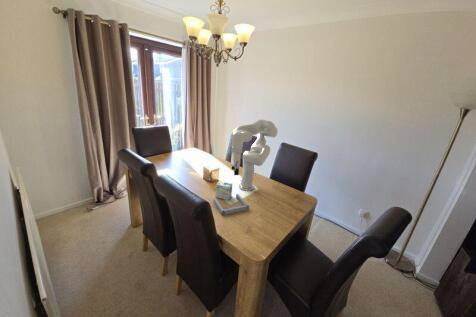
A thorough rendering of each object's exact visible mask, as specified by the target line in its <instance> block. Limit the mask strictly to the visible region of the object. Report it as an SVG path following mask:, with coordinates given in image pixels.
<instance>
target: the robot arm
mask: <svg viewBox="0 0 476 317" xmlns="http://www.w3.org/2000/svg"><path fill="white" fill-rule="evenodd" d="M255 135H257V137H256V140H255V141H254V143H252V145H251V147H250V150H245V151H244V152H243V149H244V148H243V147H244V146H243V145H244V144H243V143H248V142H250V141H252V138H253V136H255ZM277 135H278V128H277V126H276V125H275V123H273V122H272V121H271V120H266V119H258V120H257V121H254V122H253V123H252V124H251V123H250V124H245V125H240V126H237V127H236V128H235V129H234V130H233V131H232V137H231V138H232V140H231V152H230V153H231V158H230V163H231V164H230V165H231V170H233V171H234V172H233V176H239V174H240V166H241V159H242V174H241V179H240V184H239V185H238V187H239V189H240V190H242V191H245V192H246V191H247V192H250V191H253V190H254V189H255V186H254V184H253V183H254V176H255V166H257V167H261V166H263V164H264V163H265V162H266V160H267V159H268V157H269V155H270V154H271V147H270V146H269V145H268V144H267V140H266V138H265V137H268V138H276V137H277ZM242 153H243V154H242ZM241 154H242V155H241ZM241 156H242V158H241Z"/></svg>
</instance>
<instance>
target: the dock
mask: <svg viewBox="0 0 476 317" xmlns="http://www.w3.org/2000/svg"><path fill="white" fill-rule="evenodd" d="M235 199H236V200H237V201H238V202H239V203H240V204H241V205H240V206H233V207H230V208H224V207H222V205H221V204H220V201H219V200H218V199H217V197H213V199H212V202H213V204H214V205H215V207H216V208H217V210H218V211H219V213H220V214H221V216H224V215H225V216H226V215H230V214H235V213H239V212H244V211H248V210H249V209H250V205H249V204H248V203H247V202H246V200H244V198H243V197H241V195H240V194H239V193H237V194H236V195H235Z"/></svg>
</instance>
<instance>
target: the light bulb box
mask: <svg viewBox="0 0 476 317" xmlns="http://www.w3.org/2000/svg"><path fill="white" fill-rule="evenodd" d="M232 194H233V183H232V182H231V183H230V182H225V181H221V180H219V181H217V183H216V187H215V198H220V199H223V200H230V198H232Z"/></svg>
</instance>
